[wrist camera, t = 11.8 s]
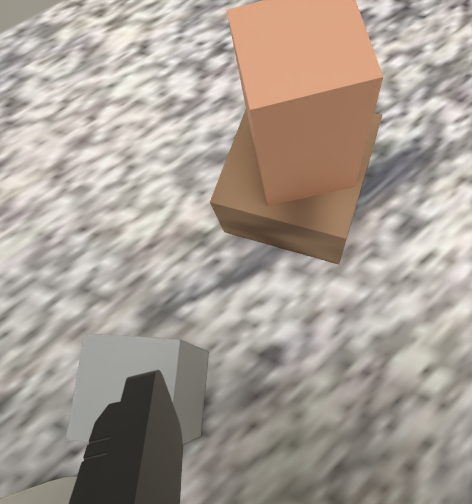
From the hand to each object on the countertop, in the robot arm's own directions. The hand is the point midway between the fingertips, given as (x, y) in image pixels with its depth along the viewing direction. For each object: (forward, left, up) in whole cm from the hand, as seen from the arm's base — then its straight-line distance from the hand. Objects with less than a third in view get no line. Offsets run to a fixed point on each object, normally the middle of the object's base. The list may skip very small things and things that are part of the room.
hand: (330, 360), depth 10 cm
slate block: (-8, -4, -17) cm, 19 cm away
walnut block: (-4, +11, -17) cm, 21 cm away
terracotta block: (-4, +12, -12) cm, 17 cm away
